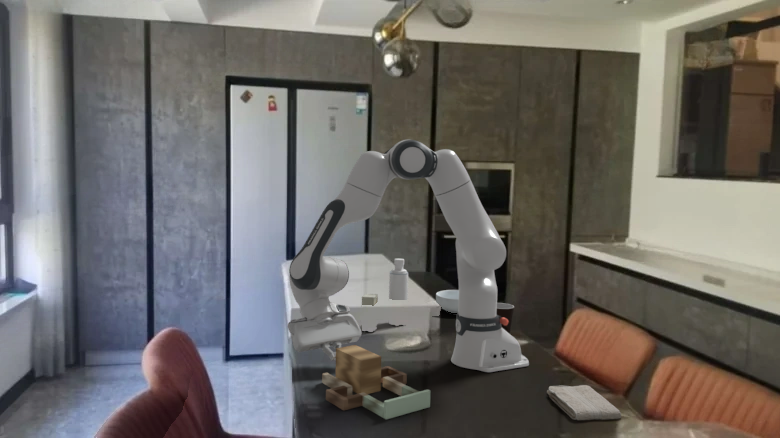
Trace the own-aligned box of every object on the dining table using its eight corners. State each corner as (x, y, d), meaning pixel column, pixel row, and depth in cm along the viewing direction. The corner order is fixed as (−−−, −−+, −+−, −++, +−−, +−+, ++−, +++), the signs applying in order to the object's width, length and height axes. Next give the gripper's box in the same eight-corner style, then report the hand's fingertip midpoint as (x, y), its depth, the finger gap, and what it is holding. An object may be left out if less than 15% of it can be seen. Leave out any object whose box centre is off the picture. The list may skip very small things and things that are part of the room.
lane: (304, 386, 160) (304, 377, 160) (378, 370, 174) (378, 361, 174) (364, 423, 139) (364, 412, 139) (443, 401, 153) (443, 391, 153)
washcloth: (586, 393, 162) (587, 381, 162) (623, 421, 144) (624, 408, 144) (543, 394, 160) (543, 382, 160) (575, 423, 142) (575, 410, 142)
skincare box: (373, 333, 212) (374, 297, 211) (360, 332, 213) (361, 296, 212) (377, 328, 218) (378, 293, 217) (365, 327, 219) (365, 293, 218)
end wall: (383, 418, 142) (383, 400, 142) (427, 405, 150) (427, 389, 149) (386, 419, 141) (386, 402, 141) (430, 407, 149) (430, 390, 149)
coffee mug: (515, 338, 209) (516, 309, 208) (489, 337, 209) (490, 308, 208) (509, 329, 221) (510, 301, 220) (484, 328, 221) (485, 300, 220)
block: (335, 381, 165) (335, 348, 164) (354, 377, 168) (355, 344, 168) (361, 396, 155) (361, 360, 154) (380, 391, 159) (381, 356, 158)
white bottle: (390, 326, 221) (391, 256, 218) (387, 321, 227) (388, 253, 225) (408, 326, 222) (410, 256, 219) (405, 321, 228) (407, 253, 226)
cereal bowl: (433, 315, 238) (433, 297, 237) (437, 305, 254) (437, 288, 254) (478, 318, 235) (479, 300, 234) (479, 308, 251) (480, 291, 251)
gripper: (289, 314, 168) (307, 359, 161) (353, 305, 181) (372, 346, 174) (281, 327, 172) (298, 371, 165) (344, 317, 185) (362, 358, 178)
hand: (336, 358), depth 170 cm, fingers closed
